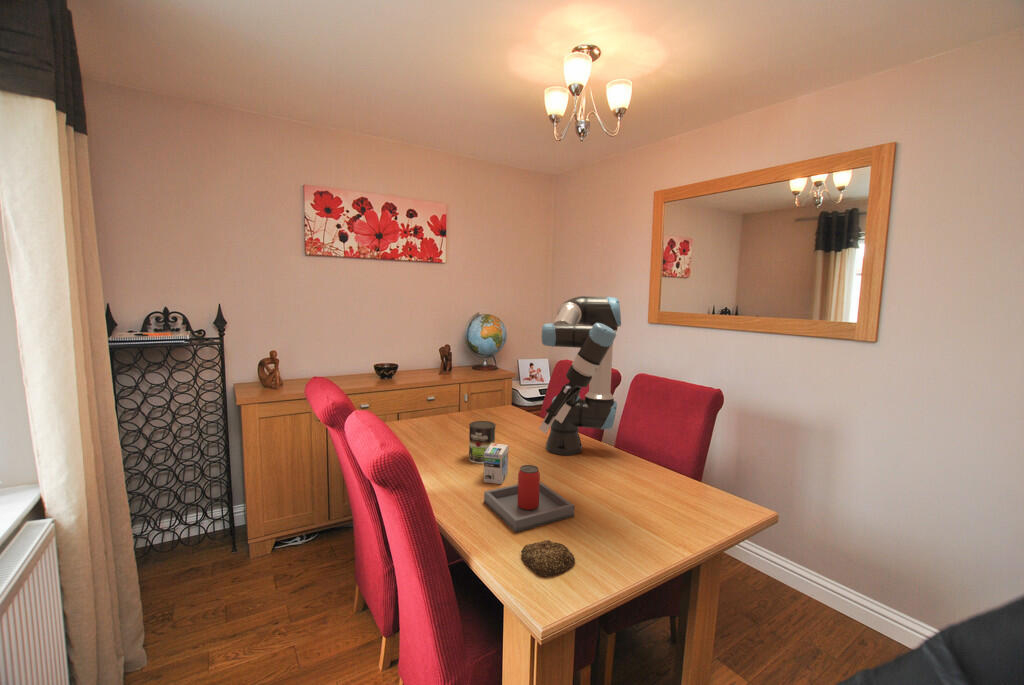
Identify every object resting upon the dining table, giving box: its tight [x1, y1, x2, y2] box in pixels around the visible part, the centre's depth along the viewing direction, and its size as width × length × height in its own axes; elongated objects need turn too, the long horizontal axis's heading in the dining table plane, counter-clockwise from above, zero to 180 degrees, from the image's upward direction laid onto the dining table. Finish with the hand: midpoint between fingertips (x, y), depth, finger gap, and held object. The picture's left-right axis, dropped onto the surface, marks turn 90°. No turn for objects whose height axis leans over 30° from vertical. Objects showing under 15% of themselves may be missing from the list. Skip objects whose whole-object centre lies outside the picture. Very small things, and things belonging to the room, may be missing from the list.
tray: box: [483, 481, 575, 534], centre depth 136 cm, size 20×20×4 cm
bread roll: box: [521, 539, 576, 578], centre depth 111 cm, size 13×12×5 cm
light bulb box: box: [483, 442, 509, 485], centre depth 158 cm, size 11×7×11 cm, turn 168°
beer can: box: [517, 464, 541, 510], centre depth 136 cm, size 7×7×12 cm
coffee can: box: [468, 420, 496, 465], centre depth 175 cm, size 10×10×14 cm
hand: (550, 425), depth 144 cm, fingers open, 13 cm apart
